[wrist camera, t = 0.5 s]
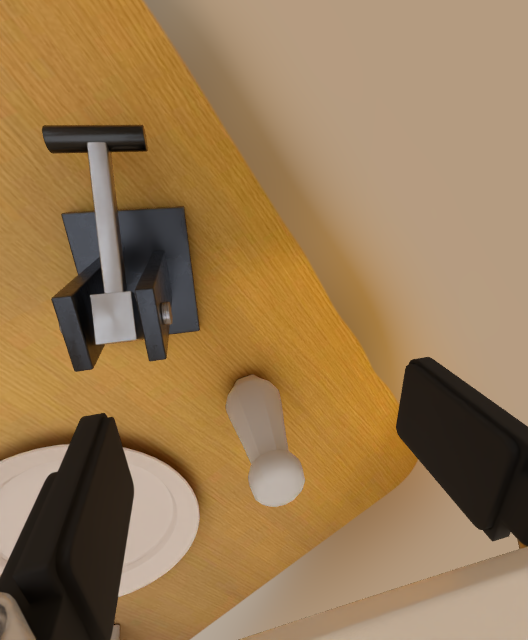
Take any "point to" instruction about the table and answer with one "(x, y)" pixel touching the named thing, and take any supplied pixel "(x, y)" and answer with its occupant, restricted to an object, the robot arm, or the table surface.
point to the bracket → (130, 280)
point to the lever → (105, 221)
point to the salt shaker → (264, 441)
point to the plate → (146, 517)
